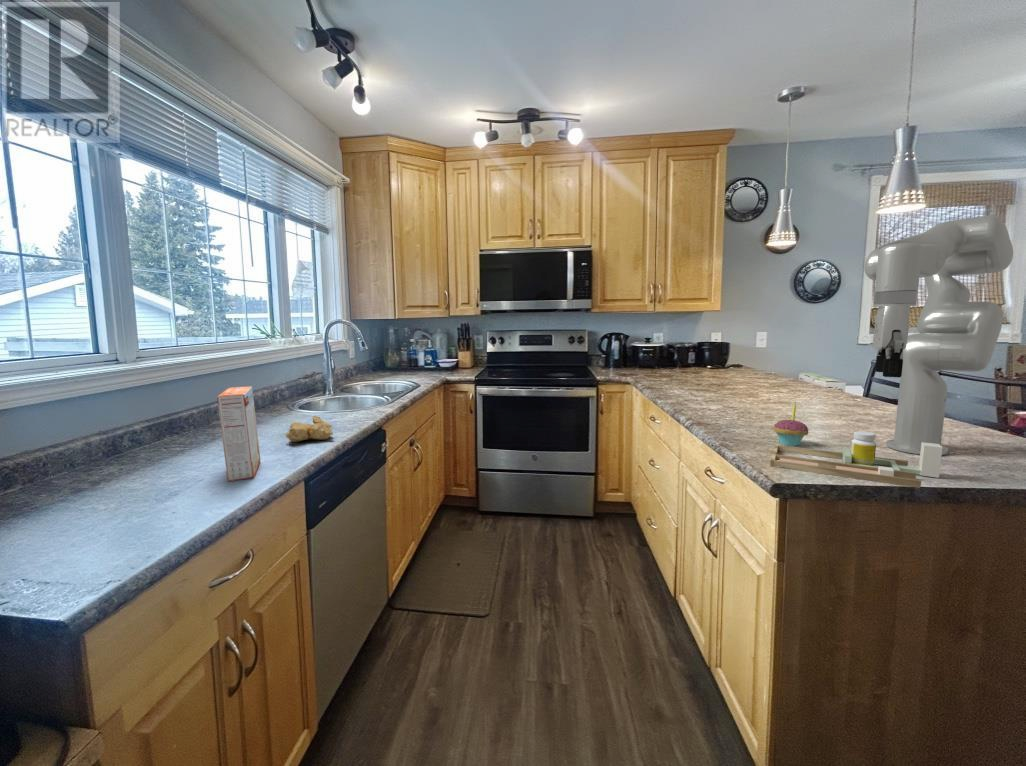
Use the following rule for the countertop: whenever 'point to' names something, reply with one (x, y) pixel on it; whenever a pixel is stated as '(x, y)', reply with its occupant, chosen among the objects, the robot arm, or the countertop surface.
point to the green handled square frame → (927, 466)
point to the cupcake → (790, 430)
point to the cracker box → (239, 432)
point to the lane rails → (830, 467)
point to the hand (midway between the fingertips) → (887, 374)
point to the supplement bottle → (863, 448)
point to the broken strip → (849, 468)
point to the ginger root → (309, 430)
